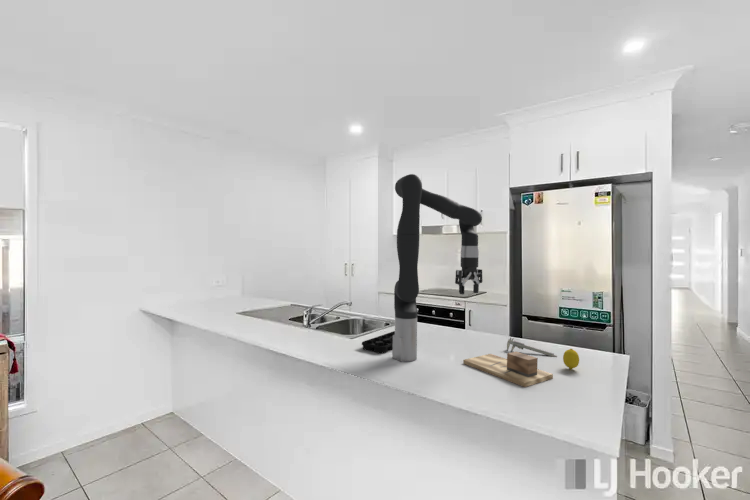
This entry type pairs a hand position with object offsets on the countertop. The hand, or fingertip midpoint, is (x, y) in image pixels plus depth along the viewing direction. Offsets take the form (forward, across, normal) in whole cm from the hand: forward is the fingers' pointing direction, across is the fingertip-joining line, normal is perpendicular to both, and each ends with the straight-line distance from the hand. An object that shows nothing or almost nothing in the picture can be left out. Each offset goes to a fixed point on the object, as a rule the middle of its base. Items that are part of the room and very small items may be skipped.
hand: (468, 293), depth 161 cm
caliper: (+27, -24, +14) cm, 39 cm away
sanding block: (+25, +4, +30) cm, 39 cm away
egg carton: (+27, +22, -28) cm, 45 cm away
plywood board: (+26, +4, +23) cm, 35 cm away
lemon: (+26, -19, +35) cm, 48 cm away
